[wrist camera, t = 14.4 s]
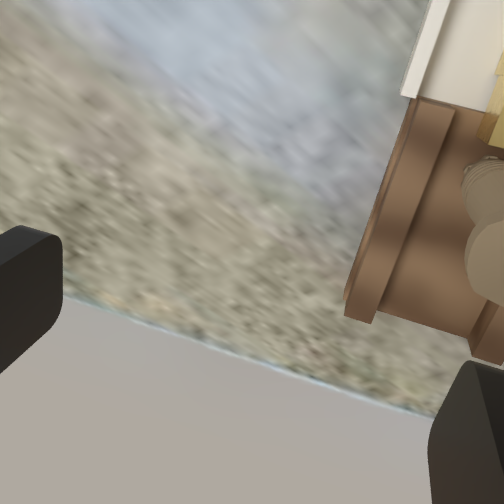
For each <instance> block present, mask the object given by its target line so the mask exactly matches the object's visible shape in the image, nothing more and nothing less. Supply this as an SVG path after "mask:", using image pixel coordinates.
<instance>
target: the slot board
mask: <svg viewBox="0 0 504 504" xmlns="http://www.w3.org/2000/svg"><path fill="white" fill-rule="evenodd" d="M484 113H485V112H483V111H479V110H475V109H471V108H467V107H463V106H459V105H455V104H451V103H447V102H443V101H439V100H435V99H431V98H427V97H423V96H419V95H417V96H416V99H415V98H411V100H410V103H409V106H408V109H407V111H406V114H405V117H404V120H403V123H402V126H401V129H400V131H399V134H398V137H397V140H396V143H395V146H394V149H393V152H392V154H391V157H390V160H389V163H388V166H387V169H386V172H385V174H384V177H383V180H382V183H381V186H380V189H379V192H378V195H377V197H376V200H375V203H374V206H373V209H372V212H371V215H370V217H369V220H368V223H367V226H366V229H365V232H364V235H363V237H362V240H361V243H360V246H359V249H358V252H357V255H356V258H355V260H354V263H353V266H352V269H351V272H350V275H349V278H348V280H347V283H346V286H345V290H344V296H343V300H346V306H345V313H344V316H347V317H350V318H353V319H356V320H359V321H362V322H365V323H368V324H371V323H372V320H373V318H374V315H375V313H376V310H378V311H381V312H384V313H388V314H391V315H394V316H397V317H400V318H403V319H407V320H410V321H413V322H416V323H419V324H423V325H426V326H429V327H432V328H435V329H438V330H442V331H445V332H448V333H451V334H454V335H458V336H461V337H464V338H467V339H468V343H469V347H470V350H471V354H472V357H475V358H478V359H481V360H485V361H488V362H491V363H494V364H497V365H500V366H501V365H502V363H503V362H504V307H502V306H500V305H498V304H496V303H494V302H492V301H490V300H488V299H486V298H485V297H483V296H481V295H479V294H477V293H476V292H474V290H473V288H472V287H471V285H470V282H469V279H468V276H467V273H466V270H465V261H464V257H465V248H466V245H467V241H468V238H469V236H470V234H471V232H472V230H473V229H474V227H475V226H476V225H475V224H474V222H473V221H472V219H471V218H470V216H469V214H468V212H467V210H466V208H465V205H464V202H463V198H462V190H461V182H462V181H463V177H464V171H463V169H464V167H465V166H466V164H468V163H469V164H470V163H474V162H477V161H478V160H480V159H481V158H483V156H484V155H494V156H496V157H498V159H501V160H504V148H500V147H496V146H492V145H488V144H486V143H485V142H483V141H482V140H481V139H479V138H478V137H476V134H477V131H478V129H479V126H480V124H481V121H482V118H483V116H484Z"/></svg>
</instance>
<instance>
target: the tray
mask: <svg viewBox="0 0 504 504" xmlns="http://www.w3.org/2000/svg"><path fill="white" fill-rule="evenodd" d="M503 50H504V0H429V3H428V6H427V9H426V12H425V15H424V18H423V21H422V24H421V27H420V29H419V32H418V35H417V38H416V41H415V44H414V47H413V50H412V53H411V56H410V59H409V62H408V65H407V68H406V71H405V74H404V77H403V80H402V83H401V86H400V89H399V91H400V95H403V96H407V97H411V98H415V99H416V96H417V95H419V96H423V97H427V98H431V99H435V100H439V101H443V102H447V103H451V104H455V105H459V106H463V107H467V108H471V109H475V110H479V111H483V112H485V111H486V108H487V105H488V103H489V100H490V98H491V95H492V92H493V90H494V87H495V85H496V82H497V79H498V77H499V75H494V73H495V71H496V68H497V66H498V63H499V60H500V58H501V55H502V52H503Z"/></svg>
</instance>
